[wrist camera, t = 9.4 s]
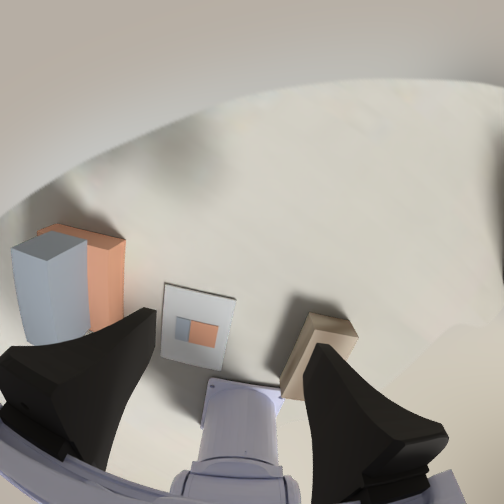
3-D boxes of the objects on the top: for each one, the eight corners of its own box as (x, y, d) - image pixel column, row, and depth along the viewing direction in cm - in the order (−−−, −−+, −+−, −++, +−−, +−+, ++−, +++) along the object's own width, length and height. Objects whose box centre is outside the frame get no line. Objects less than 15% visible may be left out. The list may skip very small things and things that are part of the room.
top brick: (90, 327, 20) (62, 359, 15) (57, 313, 20) (27, 341, 15) (87, 240, 18) (46, 261, 13) (51, 230, 18) (10, 247, 13)
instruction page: (221, 370, 25) (220, 372, 24) (161, 355, 24) (160, 357, 24) (236, 299, 22) (236, 301, 22) (166, 283, 22) (164, 285, 22)
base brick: (123, 320, 23) (110, 337, 20) (60, 298, 23) (44, 311, 20) (125, 239, 21) (108, 250, 18) (56, 223, 20) (36, 230, 18)
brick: (348, 319, 23) (358, 337, 20) (315, 382, 25) (320, 402, 22) (308, 310, 23) (314, 329, 20) (279, 376, 25) (281, 397, 22)
